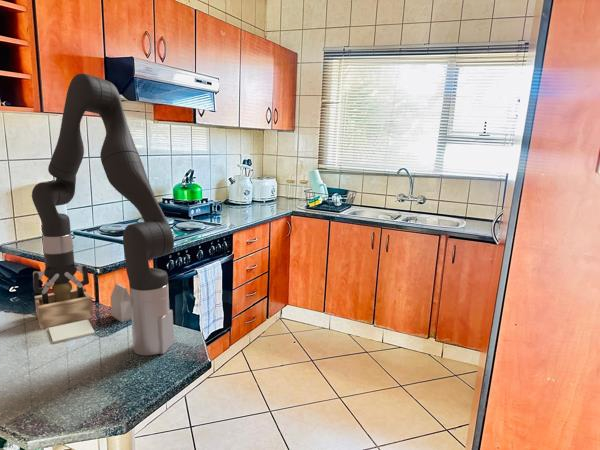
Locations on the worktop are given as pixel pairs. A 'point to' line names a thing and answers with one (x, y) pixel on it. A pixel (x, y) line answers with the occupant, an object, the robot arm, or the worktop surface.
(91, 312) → the open rectangular wooden frame
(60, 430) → the worktop surface
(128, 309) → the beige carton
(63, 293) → the cork
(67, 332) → the cream mat
